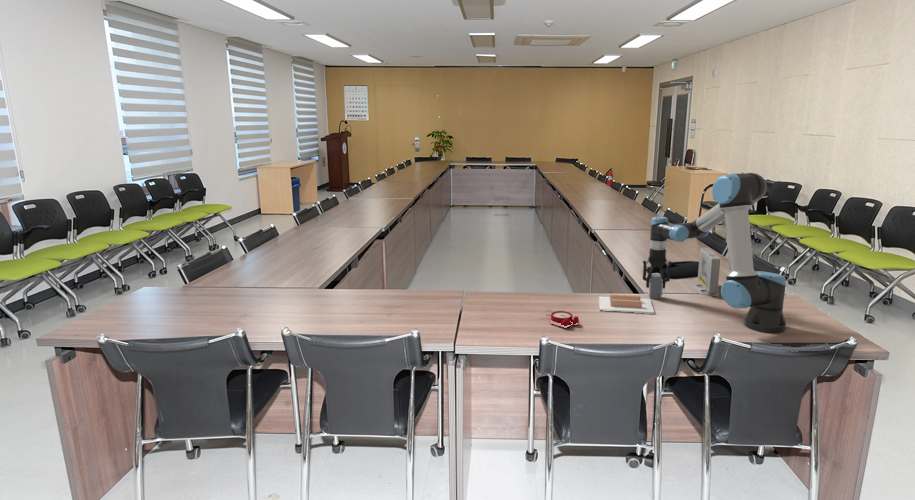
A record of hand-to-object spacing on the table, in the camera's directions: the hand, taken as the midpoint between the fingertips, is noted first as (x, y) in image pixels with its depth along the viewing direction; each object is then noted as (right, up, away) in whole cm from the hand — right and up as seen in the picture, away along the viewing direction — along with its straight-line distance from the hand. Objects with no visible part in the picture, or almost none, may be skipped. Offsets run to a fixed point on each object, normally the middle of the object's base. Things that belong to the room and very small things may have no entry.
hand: (655, 294), depth 269 cm
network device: (+30, +1, +11) cm, 33 cm away
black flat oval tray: (+33, +9, +48) cm, 59 cm away
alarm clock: (-52, -11, -33) cm, 62 cm away
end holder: (-18, -5, -11) cm, 22 cm away
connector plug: (0, -2, 0) cm, 2 cm away
